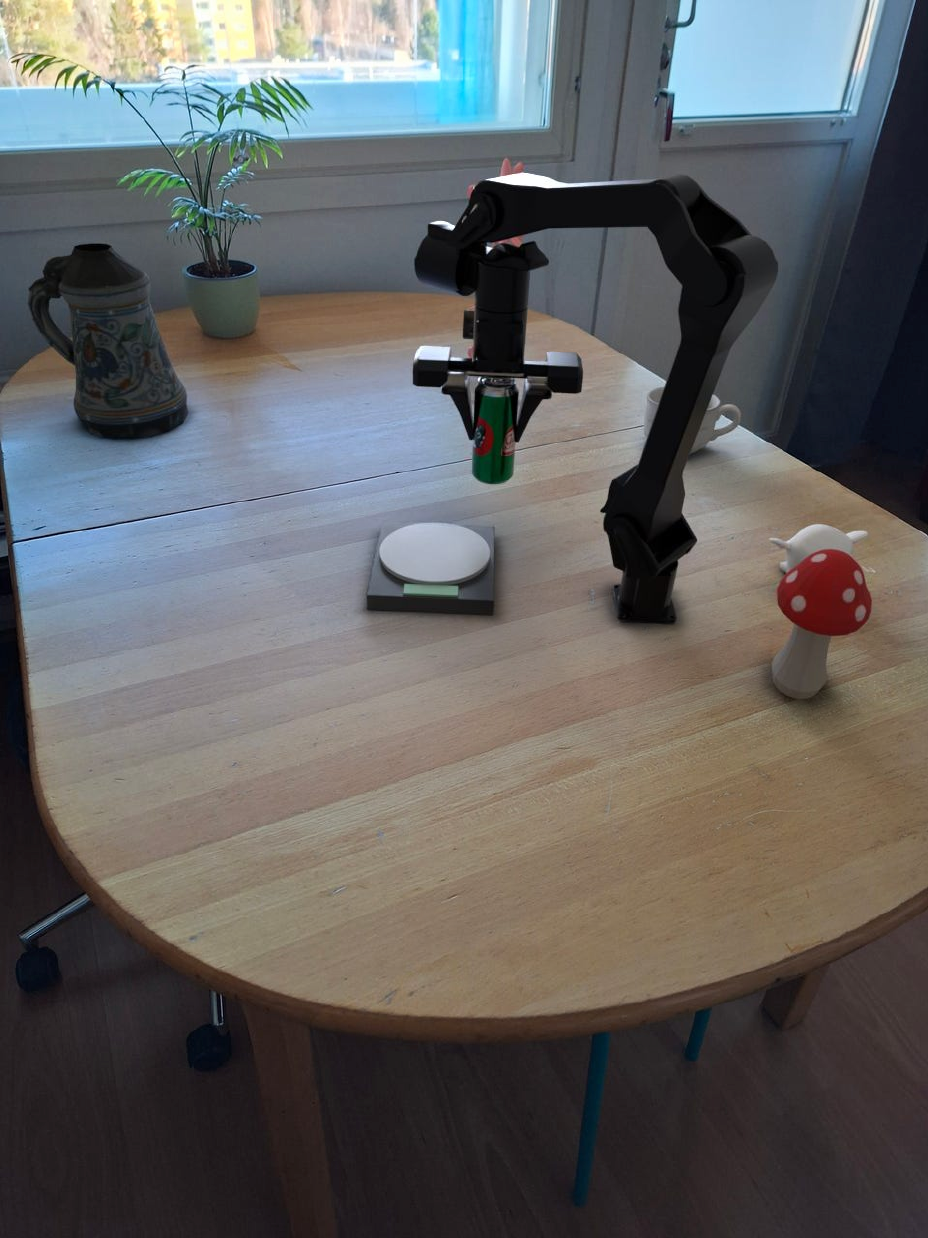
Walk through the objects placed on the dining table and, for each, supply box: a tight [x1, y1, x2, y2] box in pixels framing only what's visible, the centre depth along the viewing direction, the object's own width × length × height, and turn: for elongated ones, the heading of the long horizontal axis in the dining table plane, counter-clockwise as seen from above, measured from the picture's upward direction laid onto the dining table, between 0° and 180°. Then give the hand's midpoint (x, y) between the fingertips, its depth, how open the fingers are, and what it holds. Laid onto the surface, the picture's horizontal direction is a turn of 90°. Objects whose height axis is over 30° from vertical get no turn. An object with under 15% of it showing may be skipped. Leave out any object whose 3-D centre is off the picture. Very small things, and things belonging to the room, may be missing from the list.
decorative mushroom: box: [771, 549, 873, 700], centre depth 85 cm, size 10×9×15 cm
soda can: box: [471, 377, 520, 486], centre depth 102 cm, size 5×5×12 cm
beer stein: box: [27, 242, 189, 440], centre depth 127 cm, size 16×19×25 cm
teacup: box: [643, 386, 742, 455], centre depth 130 cm, size 14×11×8 cm
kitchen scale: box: [366, 521, 495, 616], centre depth 102 cm, size 16×14×3 cm
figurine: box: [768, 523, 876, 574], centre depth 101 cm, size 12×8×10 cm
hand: (494, 439), depth 103 cm, fingers closed on soda can, 5 cm apart
